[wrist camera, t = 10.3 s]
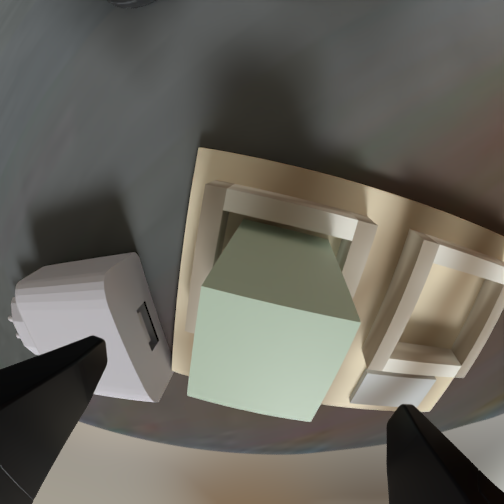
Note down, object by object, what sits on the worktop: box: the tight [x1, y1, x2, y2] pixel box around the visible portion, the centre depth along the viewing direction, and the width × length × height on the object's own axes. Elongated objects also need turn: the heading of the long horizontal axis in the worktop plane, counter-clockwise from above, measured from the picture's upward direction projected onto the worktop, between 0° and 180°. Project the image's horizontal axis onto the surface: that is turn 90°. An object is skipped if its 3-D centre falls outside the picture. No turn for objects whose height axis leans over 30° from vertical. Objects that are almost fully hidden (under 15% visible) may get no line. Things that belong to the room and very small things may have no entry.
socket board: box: [172, 147, 504, 412], centre depth 16 cm, size 21×15×3 cm
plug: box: [187, 219, 361, 422], centre depth 12 cm, size 4×4×8 cm
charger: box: [8, 252, 174, 402], centre depth 18 cm, size 5×9×15 cm
